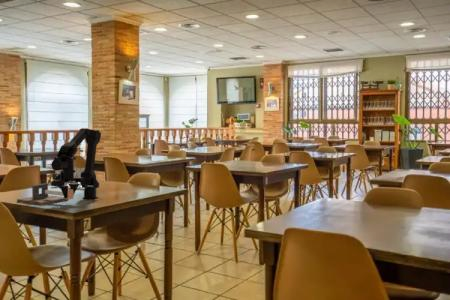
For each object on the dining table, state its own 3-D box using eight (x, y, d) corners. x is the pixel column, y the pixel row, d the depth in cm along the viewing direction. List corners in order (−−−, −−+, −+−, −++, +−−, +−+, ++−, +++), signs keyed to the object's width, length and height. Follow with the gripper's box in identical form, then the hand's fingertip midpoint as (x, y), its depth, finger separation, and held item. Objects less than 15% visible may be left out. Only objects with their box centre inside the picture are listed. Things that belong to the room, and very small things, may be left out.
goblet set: (93, 187, 322) (93, 167, 321) (87, 188, 316) (87, 168, 315) (59, 185, 332) (59, 165, 331) (53, 186, 326) (53, 166, 326)
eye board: (16, 201, 263) (16, 185, 263) (43, 197, 279) (43, 181, 278) (42, 205, 254) (41, 188, 253) (68, 200, 269) (68, 184, 269)
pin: (43, 196, 263) (43, 187, 263) (49, 195, 267) (49, 186, 266) (67, 199, 254) (67, 190, 254) (73, 198, 258) (73, 189, 257)
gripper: (70, 166, 268) (71, 194, 269) (43, 169, 251) (44, 199, 252) (85, 167, 262) (85, 195, 263) (58, 170, 246) (59, 200, 247)
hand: (68, 197), depth 257 cm, fingers closed on pin, 4 cm apart
